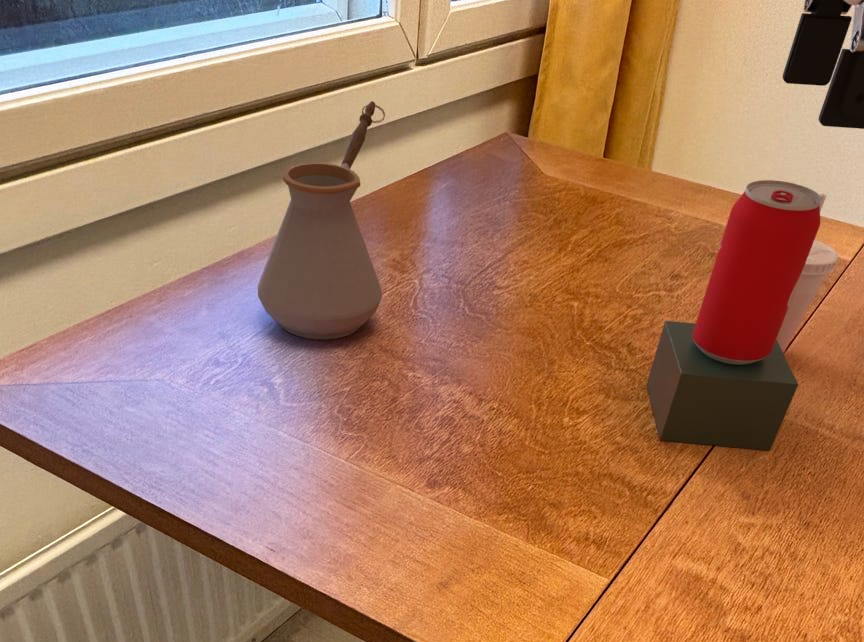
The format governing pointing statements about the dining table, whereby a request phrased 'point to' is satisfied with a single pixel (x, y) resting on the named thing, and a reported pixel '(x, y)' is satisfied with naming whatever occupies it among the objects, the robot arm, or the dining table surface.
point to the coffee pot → (322, 251)
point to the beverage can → (757, 271)
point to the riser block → (717, 394)
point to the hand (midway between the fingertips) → (822, 103)
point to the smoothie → (807, 286)
